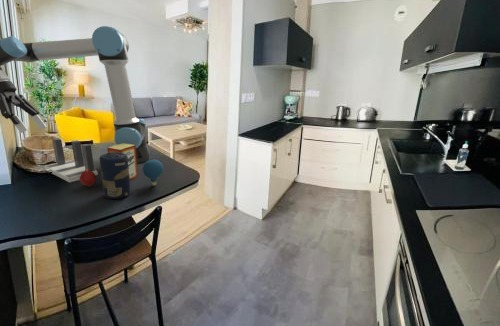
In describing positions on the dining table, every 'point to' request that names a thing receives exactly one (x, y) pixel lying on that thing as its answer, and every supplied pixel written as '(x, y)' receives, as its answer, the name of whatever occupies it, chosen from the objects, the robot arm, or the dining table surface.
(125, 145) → the baking soda box
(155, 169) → the light bulb
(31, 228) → the dining table surface
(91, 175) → the pomegranate
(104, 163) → the dark blue cylinder
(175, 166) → the dining table surface
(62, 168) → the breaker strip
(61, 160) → the block
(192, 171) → the dining table surface
